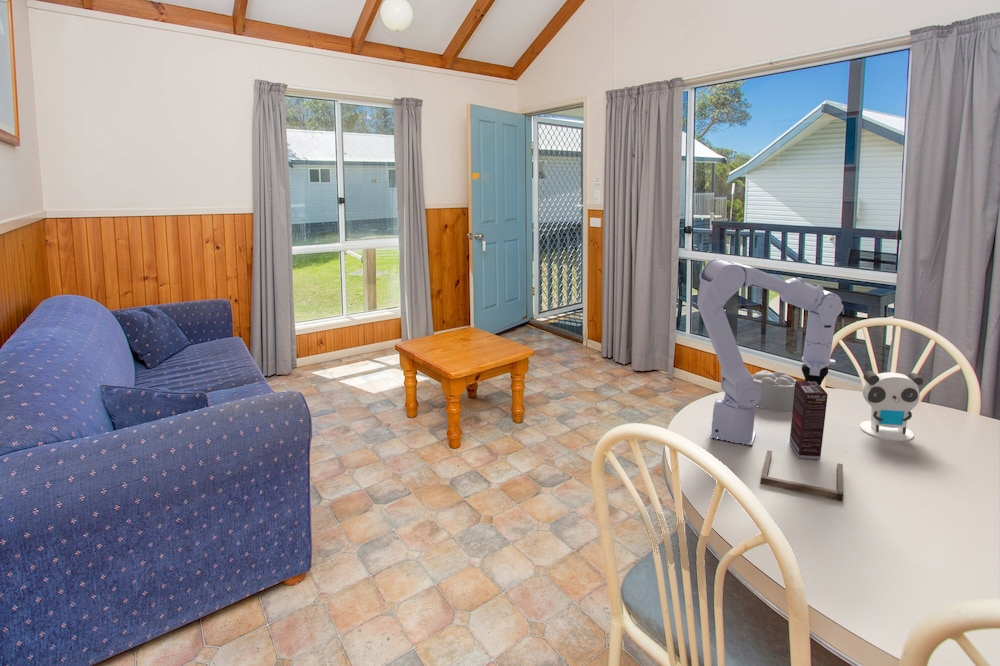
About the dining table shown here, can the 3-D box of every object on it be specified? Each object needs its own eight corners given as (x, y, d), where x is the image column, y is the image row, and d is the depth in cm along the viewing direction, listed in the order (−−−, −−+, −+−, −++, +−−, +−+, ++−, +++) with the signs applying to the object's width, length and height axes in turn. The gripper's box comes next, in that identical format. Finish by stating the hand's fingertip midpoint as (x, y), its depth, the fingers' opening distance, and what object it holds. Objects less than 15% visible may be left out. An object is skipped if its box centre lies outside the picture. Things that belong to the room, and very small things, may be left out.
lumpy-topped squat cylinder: (758, 393, 174) (761, 365, 172) (804, 405, 165) (808, 375, 163) (741, 402, 167) (744, 373, 165) (788, 415, 158) (792, 385, 156)
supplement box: (821, 460, 133) (828, 393, 129) (798, 459, 134) (804, 393, 130) (810, 443, 142) (816, 380, 138) (788, 442, 143) (794, 379, 139)
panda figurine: (865, 438, 144) (874, 380, 140) (850, 419, 155) (858, 365, 151) (921, 443, 141) (932, 383, 137) (902, 423, 152) (912, 367, 148)
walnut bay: (760, 483, 124) (760, 477, 124) (766, 456, 136) (767, 450, 136) (842, 501, 117) (843, 494, 117) (841, 470, 129) (842, 464, 129)
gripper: (838, 351, 132) (830, 408, 136) (837, 335, 144) (830, 388, 148) (802, 347, 135) (795, 403, 139) (805, 332, 148) (799, 383, 151)
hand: (811, 395), depth 144 cm, fingers closed
